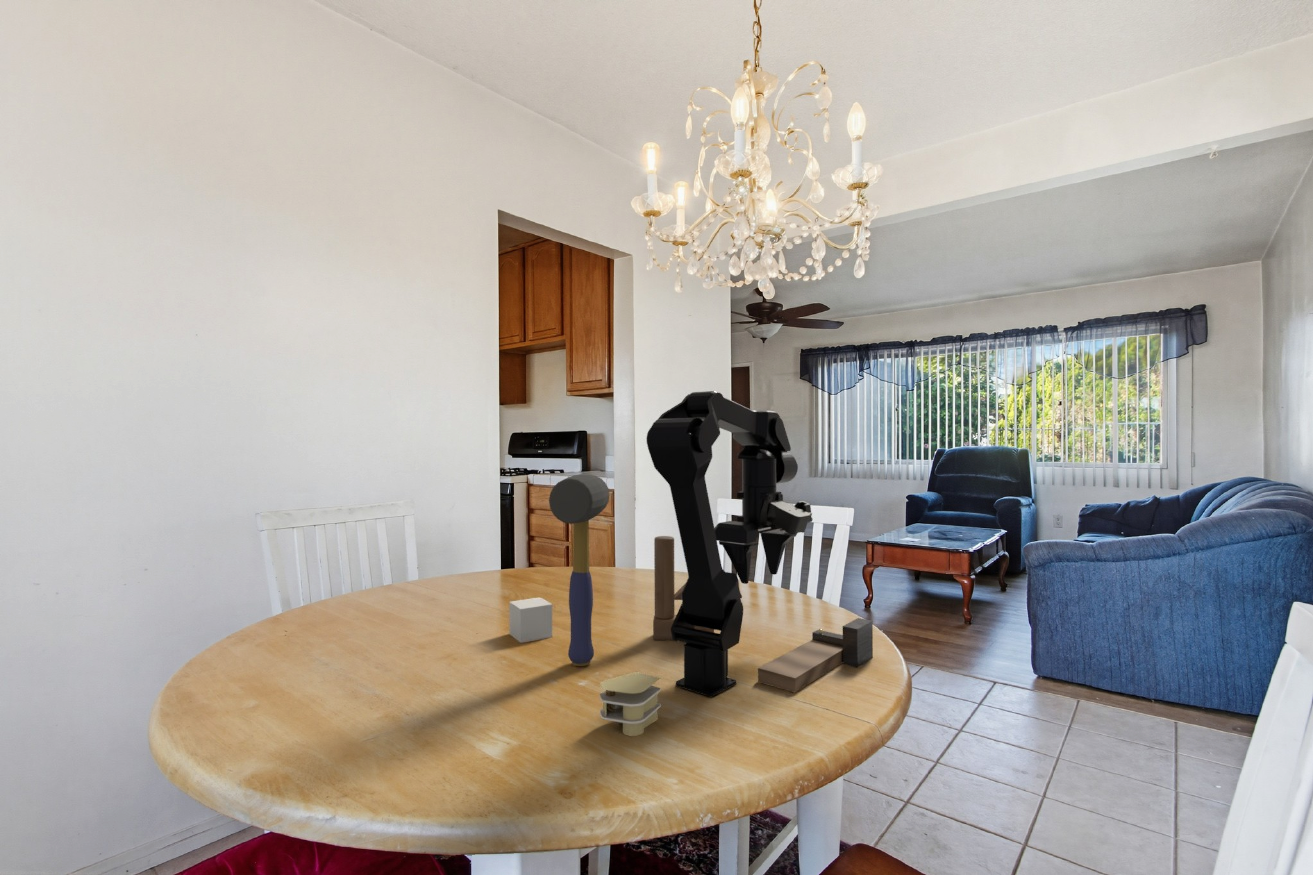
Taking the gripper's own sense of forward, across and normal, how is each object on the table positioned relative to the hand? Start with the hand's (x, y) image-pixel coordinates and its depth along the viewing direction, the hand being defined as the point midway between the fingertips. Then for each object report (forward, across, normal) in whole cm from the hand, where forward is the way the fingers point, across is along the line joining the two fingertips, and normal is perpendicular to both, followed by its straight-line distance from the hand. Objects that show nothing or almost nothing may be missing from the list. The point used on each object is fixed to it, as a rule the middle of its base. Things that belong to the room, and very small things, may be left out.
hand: (759, 578), depth 103 cm
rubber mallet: (+12, -24, +18) cm, 32 cm away
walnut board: (+12, -1, -10) cm, 16 cm away
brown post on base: (+12, -3, +14) cm, 19 cm away
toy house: (+12, -34, -2) cm, 36 cm away
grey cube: (+12, -20, +36) cm, 43 cm away
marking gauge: (+12, +6, -11) cm, 18 cm away
